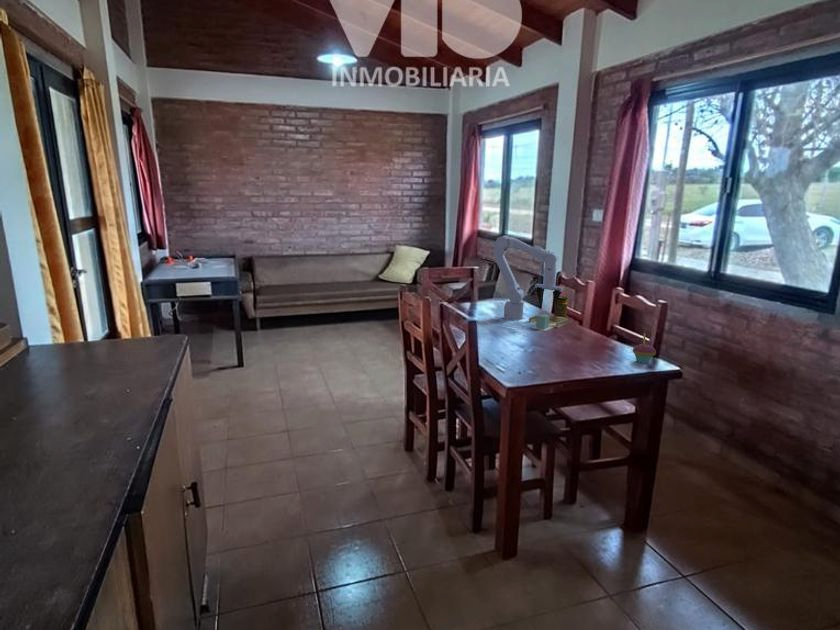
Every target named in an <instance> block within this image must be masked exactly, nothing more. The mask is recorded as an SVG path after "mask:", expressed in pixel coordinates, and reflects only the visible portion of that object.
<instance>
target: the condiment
mask: <svg viewBox="0 0 840 630" xmlns="http://www.w3.org/2000/svg"><path fill="white" fill-rule="evenodd" d="M567 312H568V297H567V296H561V295H560V296H559V298H558V300H557V303H556V305H554V313H553V314H554V315H553V316H557V317H562V318H567Z"/></svg>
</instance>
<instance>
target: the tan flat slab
mask: <svg viewBox="0 0 840 630" xmlns="http://www.w3.org/2000/svg"><path fill="white" fill-rule="evenodd" d="M540 314H541V313H538V314H535V315H533V316H530V317H529V319H528V322H529V323H534V324H536V318H537V315H540ZM543 314H544V315H547V313H546V314H545V313H543ZM548 315H549V327H553V328H557V329H558V328H561V327H563V326H566V325H568V324H570V318H567V317H566V318H562V317H557V316H554V315H550V314H548Z"/></svg>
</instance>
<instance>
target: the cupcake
mask: <svg viewBox="0 0 840 630" xmlns="http://www.w3.org/2000/svg"><path fill="white" fill-rule="evenodd" d="M642 341H643V342H642V343H639V344H636V345H634V346H633V349H632V353H633V354H634V356H635V361H636V362H637V361H638V362H637V363H639V362H641V363H640V364H644V363H646V364H650V361H651V359H652V358H653V357H654V356H656V355H657V354H656V353H657V351H656V349H655V347H653V345H650V344H646V331H644V333H643V339H642Z"/></svg>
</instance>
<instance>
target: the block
mask: <svg viewBox="0 0 840 630" xmlns="http://www.w3.org/2000/svg"><path fill="white" fill-rule="evenodd" d="M539 314H540V315H538V314H536V315H537V318H536V323H535V326H536V328H541V329H546V328H548V327H550V326H549V315H550V314H546V315H544V314H545V313H539Z"/></svg>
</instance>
